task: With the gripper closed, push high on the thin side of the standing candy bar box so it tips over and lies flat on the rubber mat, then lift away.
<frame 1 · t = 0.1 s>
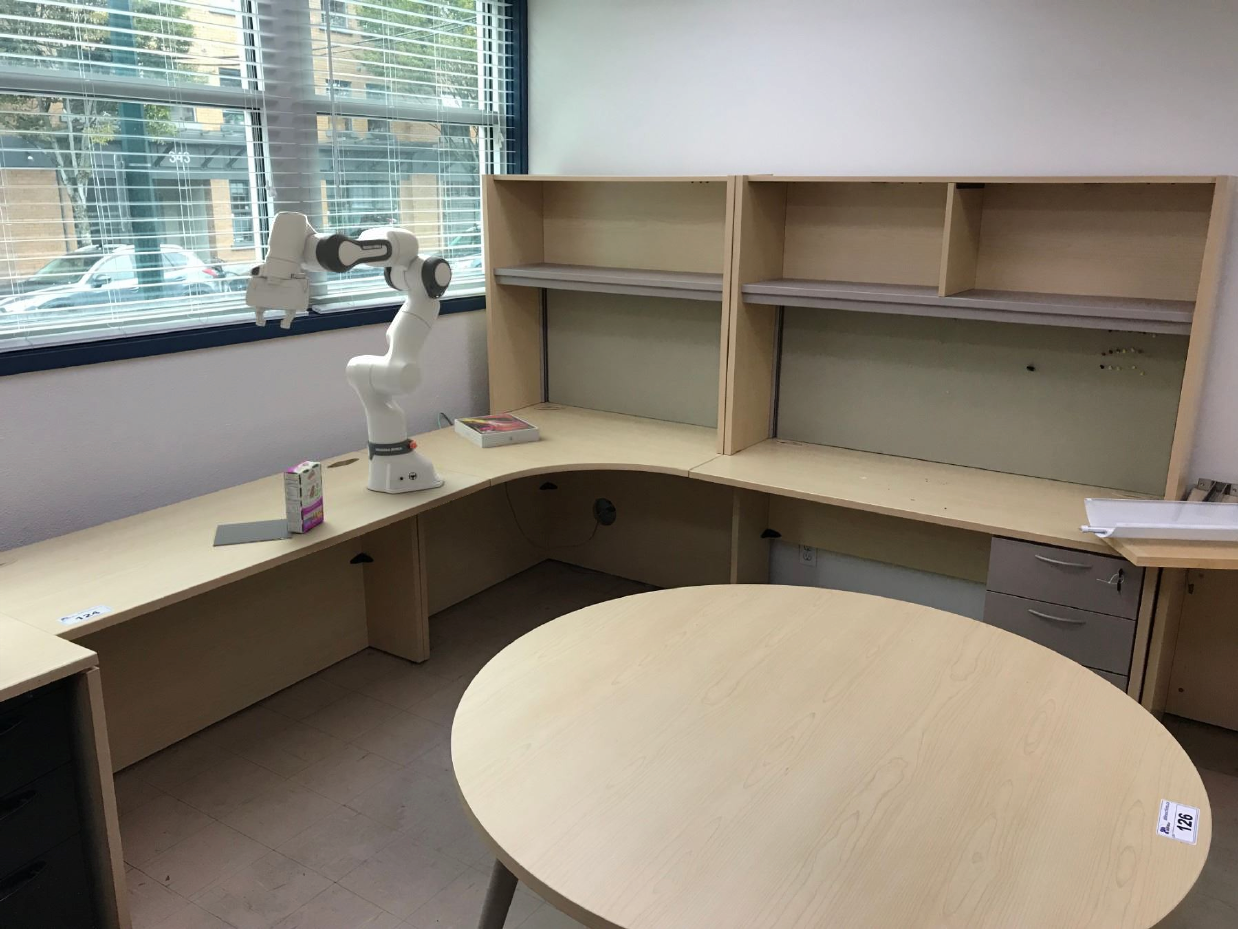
hand: (272, 326, 248), 52 cm above the table, tool tilted 20°, fingers open, 8 cm apart
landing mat: (254, 532, 252), on the table
candy bar box: (305, 527, 256), on the table, touching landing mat
product packaging: (496, 437, 353), on the table
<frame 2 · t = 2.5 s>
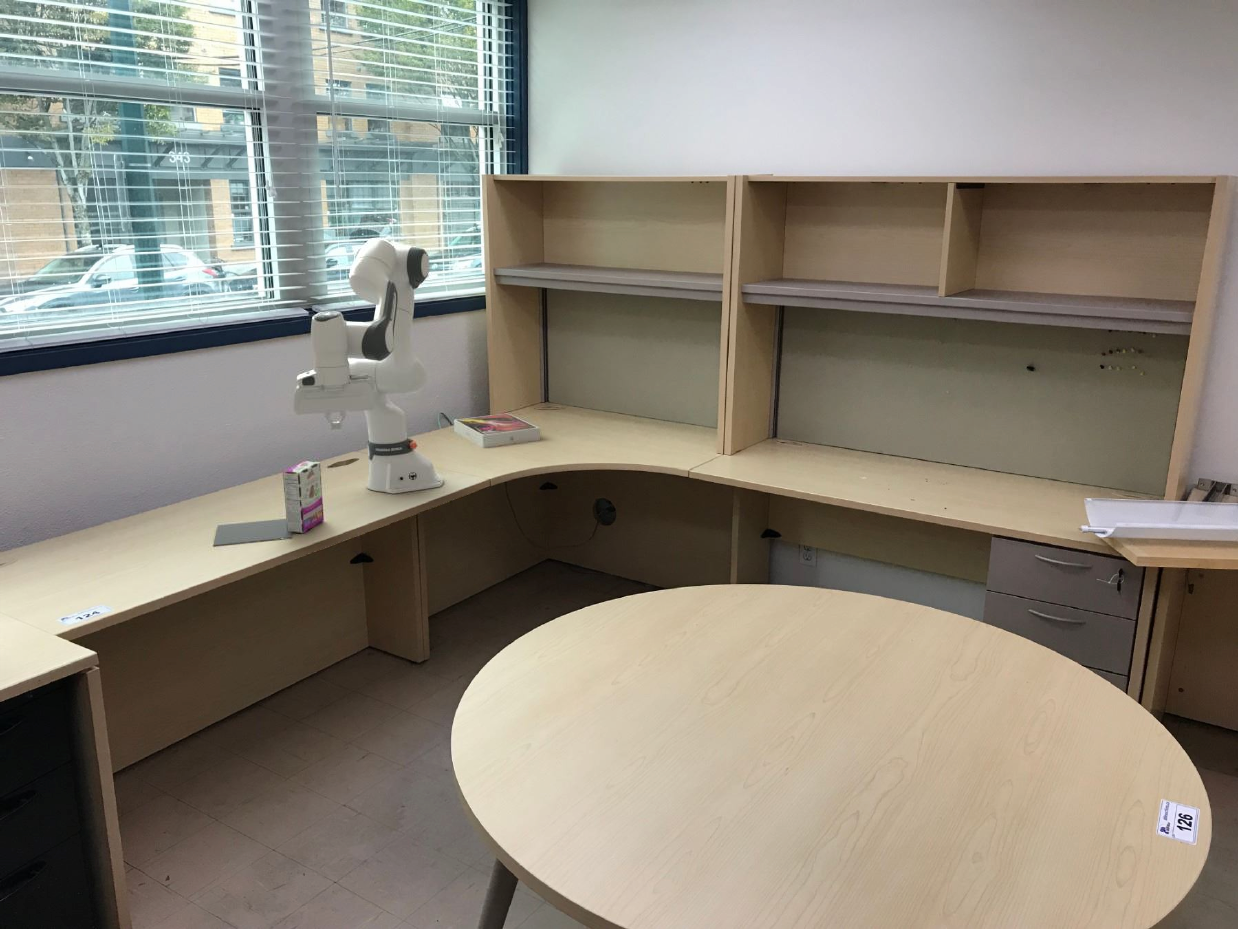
hand: (336, 428, 252), 26 cm above the table, tool pointing down, fingers closed
nothing on the table moved.
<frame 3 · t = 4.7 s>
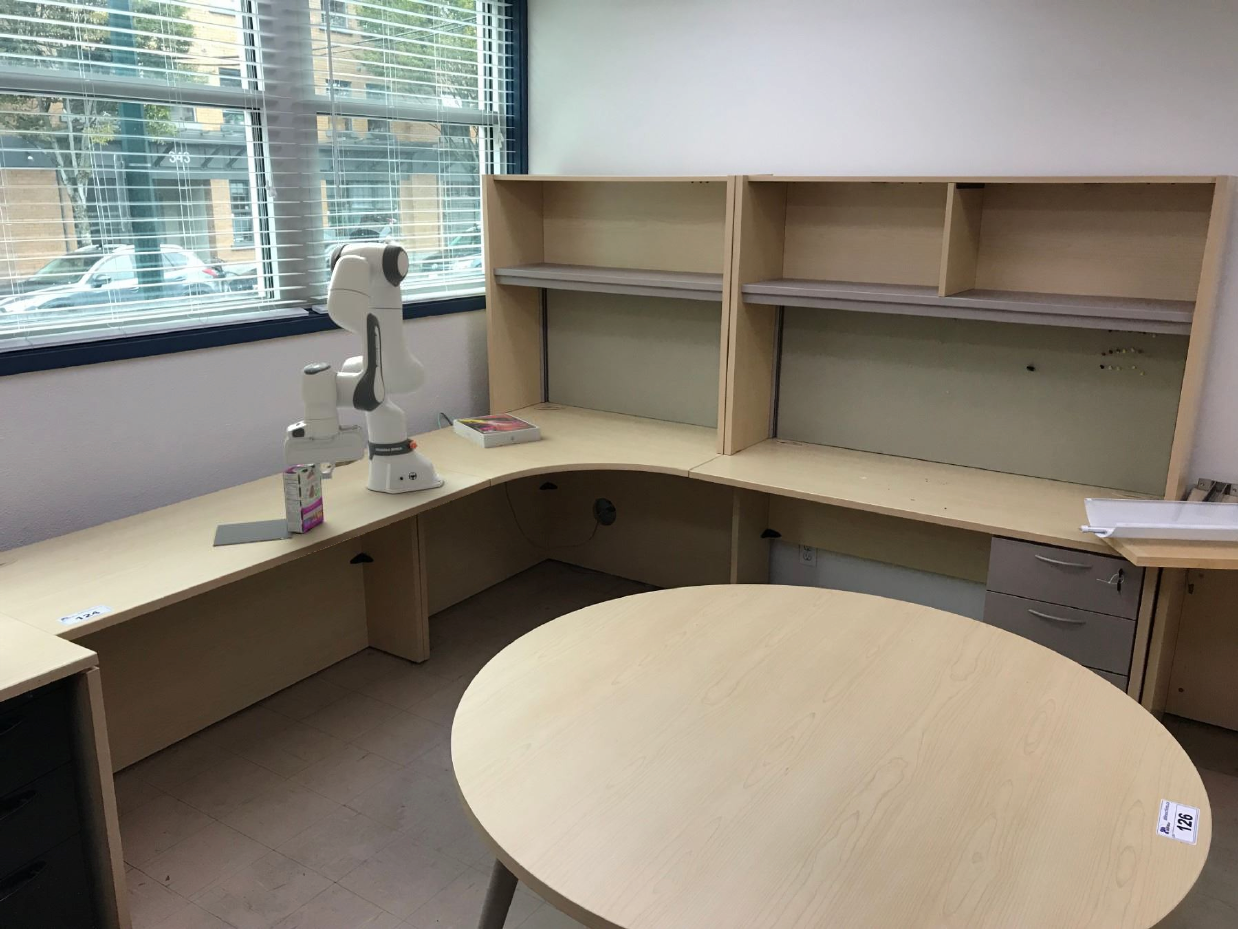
hand: (326, 478, 254), 13 cm above the table, tool pointing down, fingers closed
candy bar box: (305, 527, 256), on the table, touching gripper, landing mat
everything else where it was.
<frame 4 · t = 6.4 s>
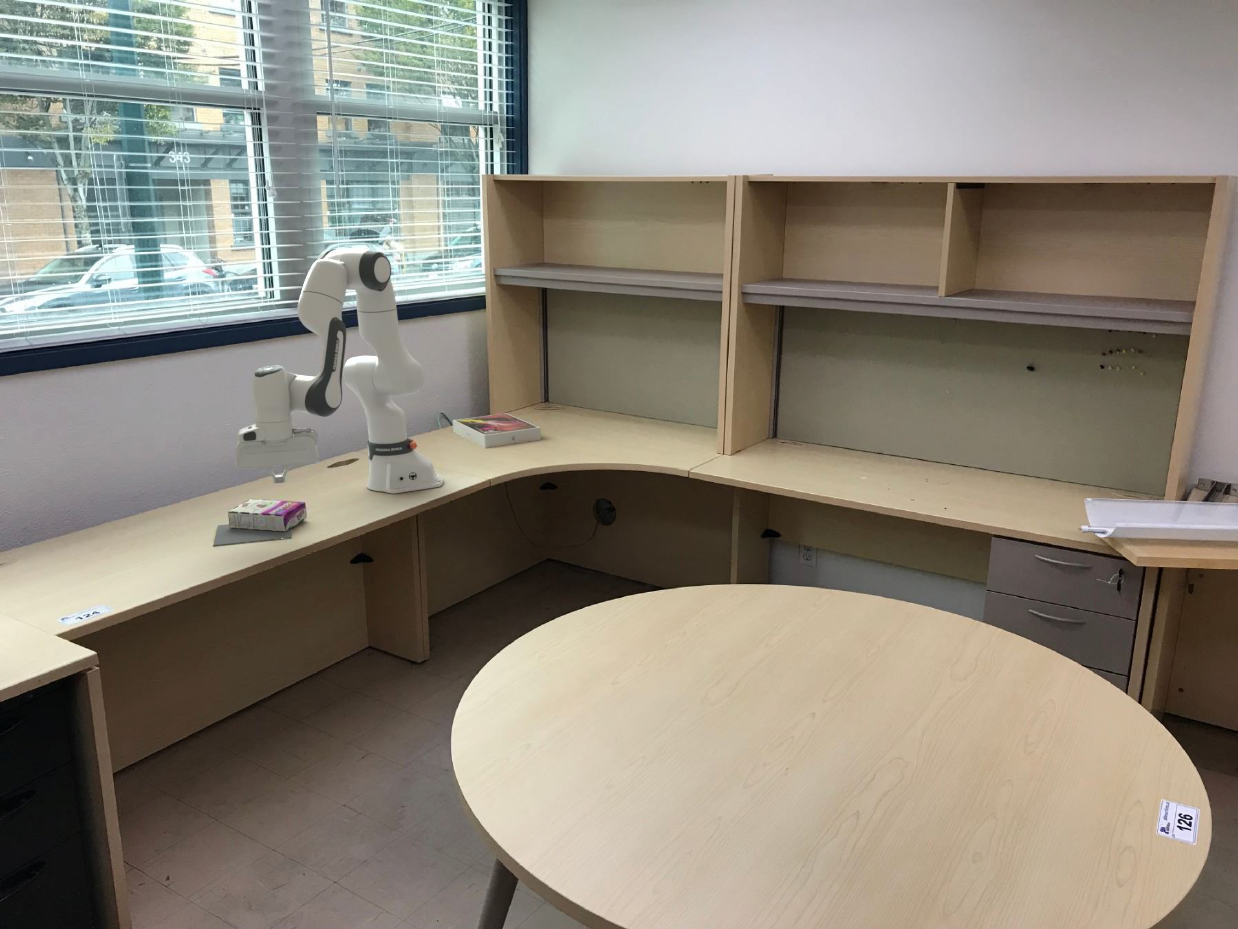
hand: (279, 482, 250), 13 cm above the table, tool pointing down, fingers closed
candy bar box: (296, 517, 255), point 3 cm above the table, touching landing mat
everything else where it was.
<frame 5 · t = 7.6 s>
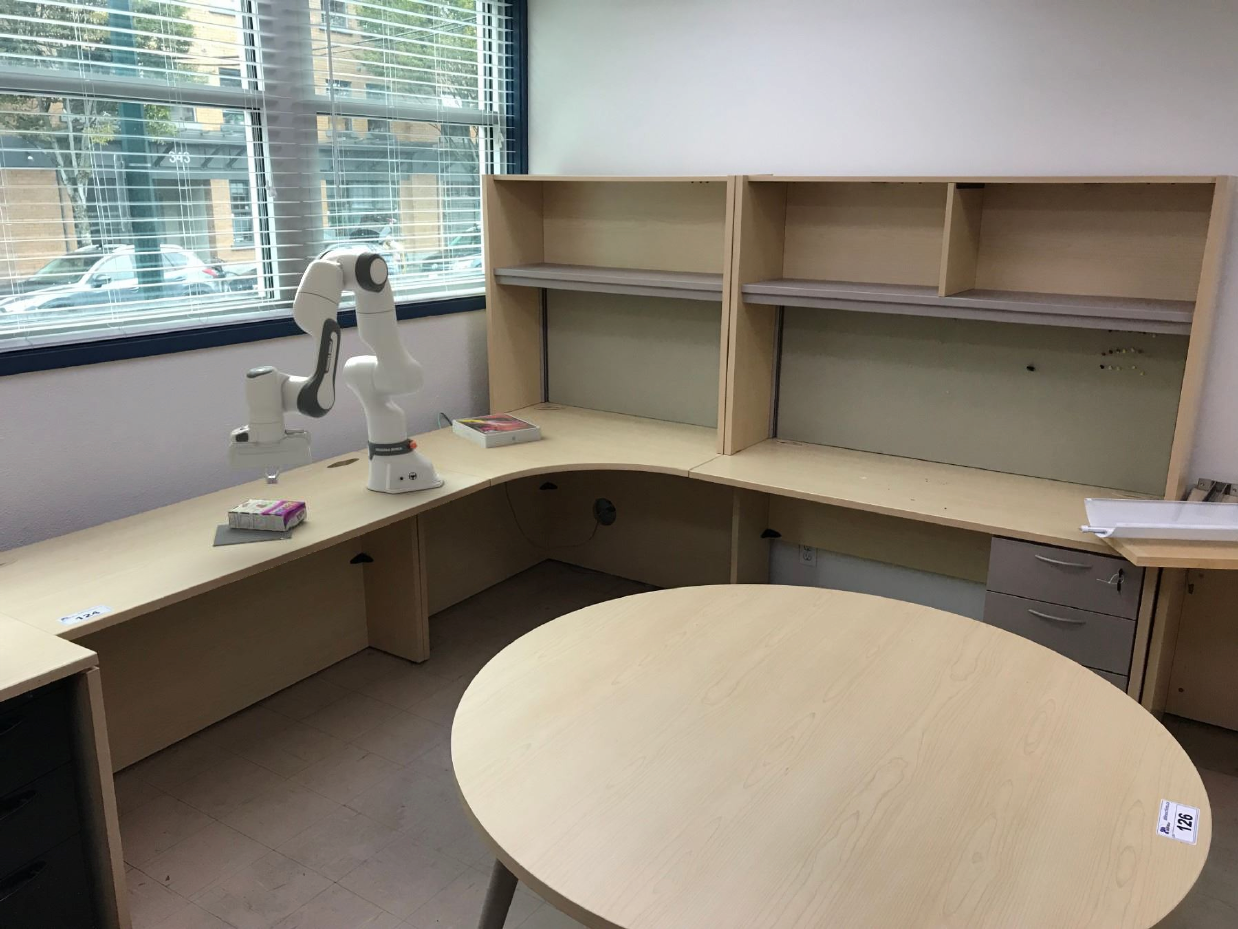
hand: (272, 483, 250), 13 cm above the table, tool pointing down, fingers closed
nothing on the table moved.
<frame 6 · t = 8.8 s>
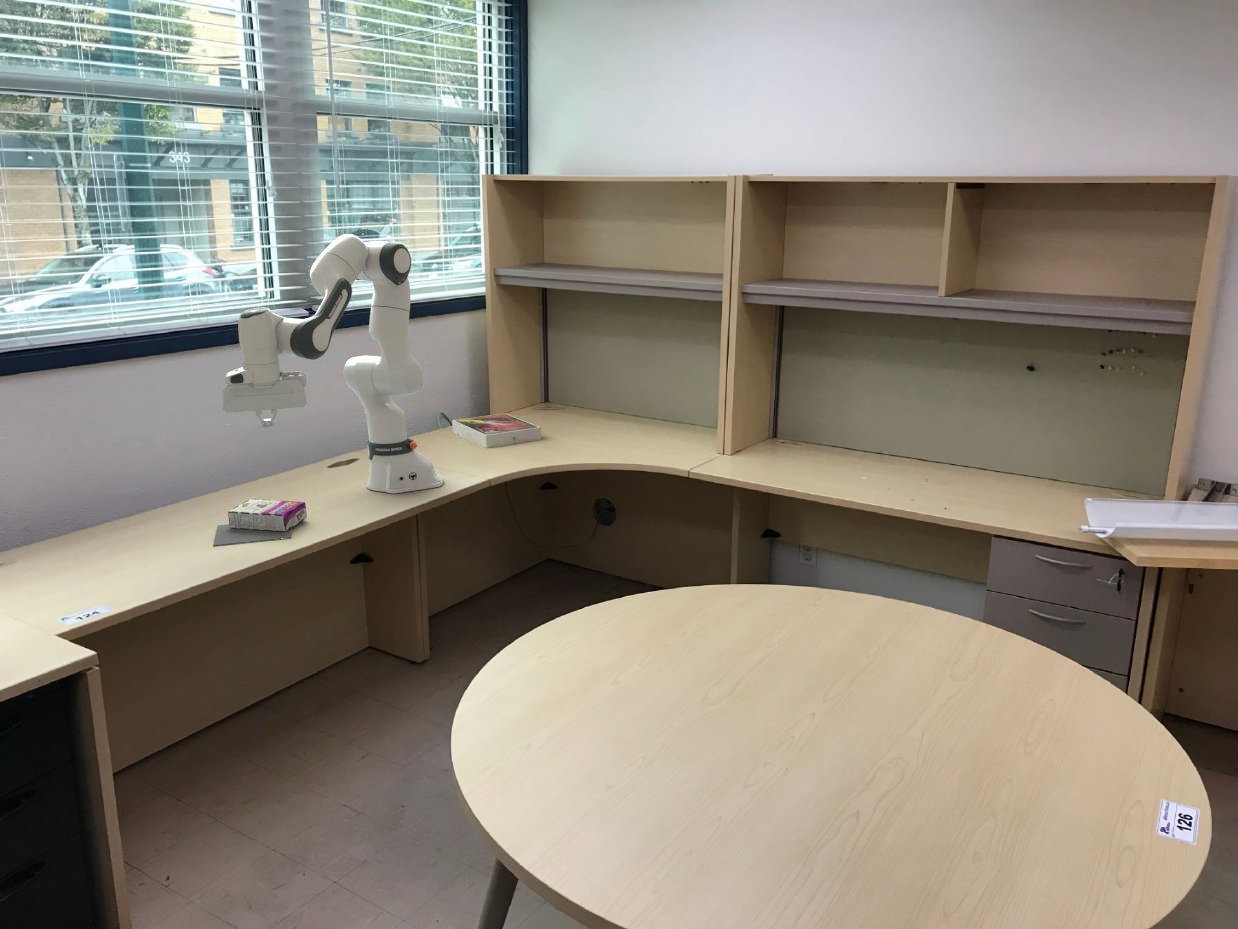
hand: (268, 426, 249), 27 cm above the table, tool pointing down, fingers closed
nothing on the table moved.
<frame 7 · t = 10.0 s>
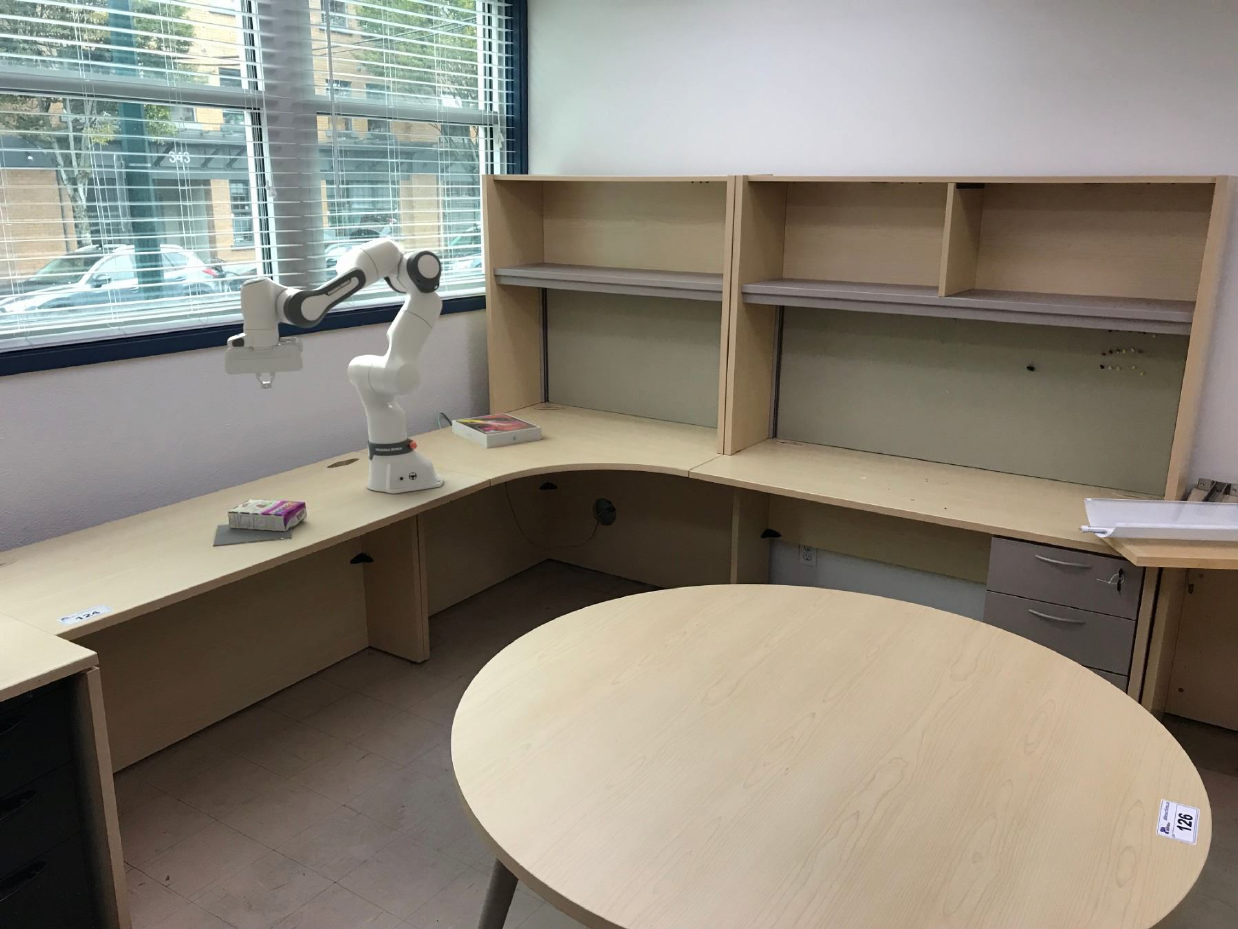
hand: (267, 388, 267), 33 cm above the table, tool pointing down, fingers closed
nothing on the table moved.
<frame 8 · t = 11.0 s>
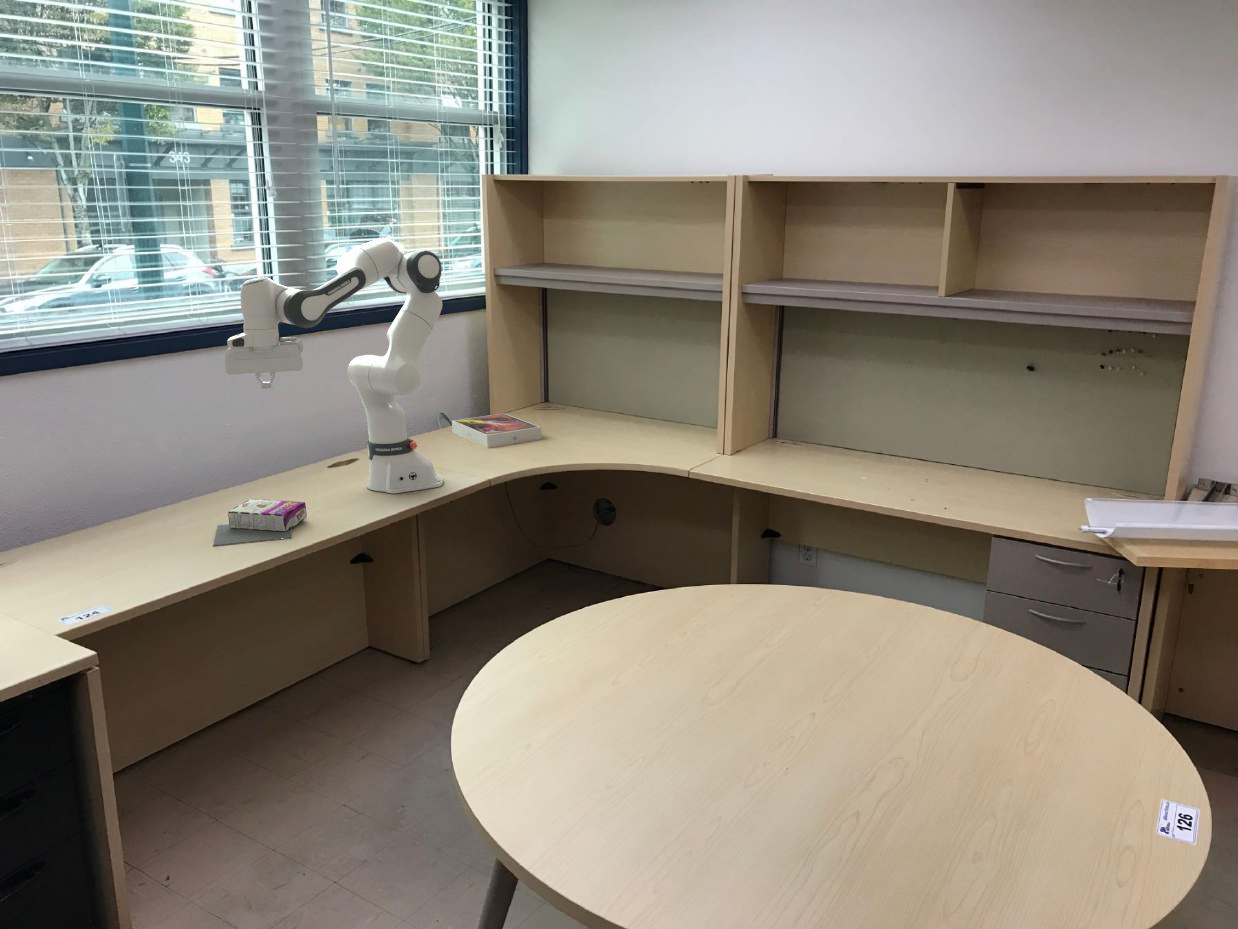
hand: (267, 388, 267), 33 cm above the table, tool pointing down, fingers closed
nothing on the table moved.
at the end: candy bar box tilted 90°; candy bar box touching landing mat; candy bar box inside the target area (4.0 cm from its centre), point 2.7 cm above the table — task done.
